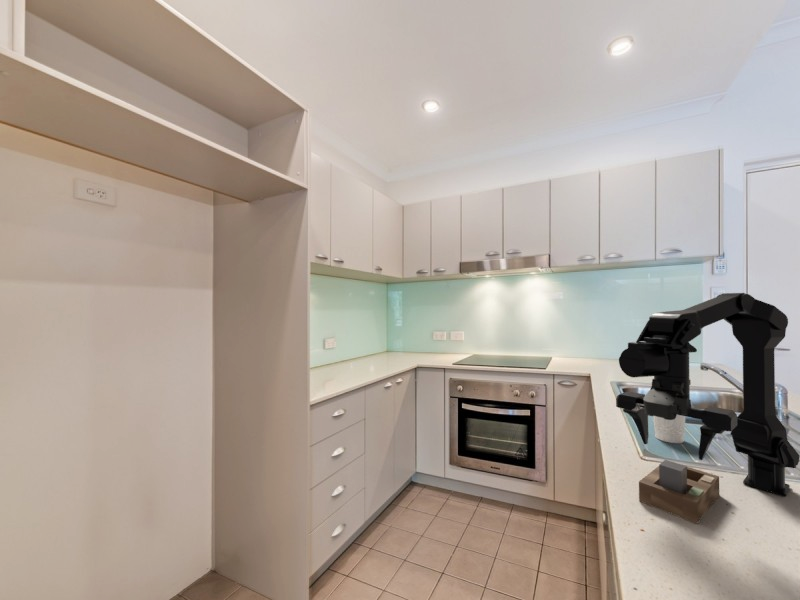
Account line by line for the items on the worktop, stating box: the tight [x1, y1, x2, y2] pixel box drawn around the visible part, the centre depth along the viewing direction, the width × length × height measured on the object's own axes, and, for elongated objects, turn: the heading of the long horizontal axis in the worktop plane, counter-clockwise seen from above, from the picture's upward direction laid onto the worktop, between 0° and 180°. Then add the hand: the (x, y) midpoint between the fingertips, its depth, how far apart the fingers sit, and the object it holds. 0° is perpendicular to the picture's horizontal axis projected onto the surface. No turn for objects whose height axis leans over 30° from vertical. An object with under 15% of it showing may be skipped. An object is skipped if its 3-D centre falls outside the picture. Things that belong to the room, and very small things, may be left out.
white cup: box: [652, 415, 686, 444], centre depth 104 cm, size 8×8×10 cm
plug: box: [658, 459, 688, 495], centre depth 71 cm, size 4×4×8 cm
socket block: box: [638, 465, 720, 525], centre depth 73 cm, size 16×9×4 cm, turn 126°
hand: (671, 451), depth 71 cm, fingers open, 9 cm apart
